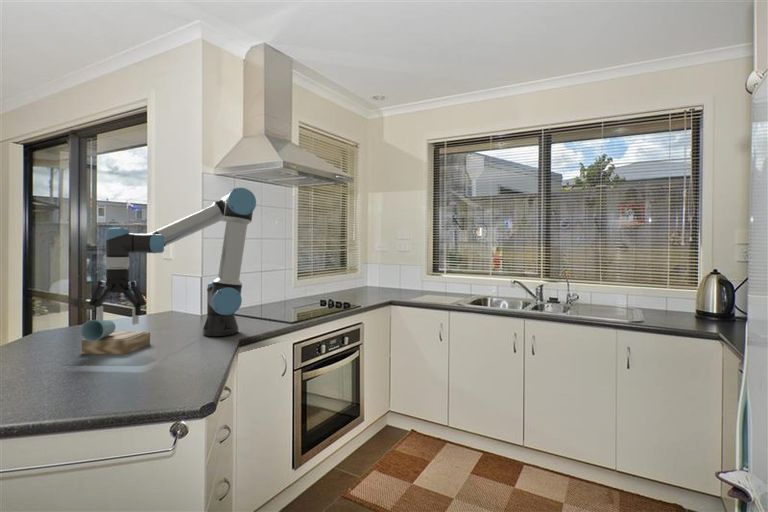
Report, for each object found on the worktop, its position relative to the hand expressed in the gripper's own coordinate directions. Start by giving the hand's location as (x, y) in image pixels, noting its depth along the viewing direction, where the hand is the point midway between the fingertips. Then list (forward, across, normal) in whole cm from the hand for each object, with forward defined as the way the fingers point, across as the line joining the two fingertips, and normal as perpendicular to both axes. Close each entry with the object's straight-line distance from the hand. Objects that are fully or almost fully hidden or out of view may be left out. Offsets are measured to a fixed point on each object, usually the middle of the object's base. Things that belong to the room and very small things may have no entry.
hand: (117, 323), depth 161 cm
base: (+10, 0, 0) cm, 10 cm away
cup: (+2, -1, +1) cm, 3 cm away
